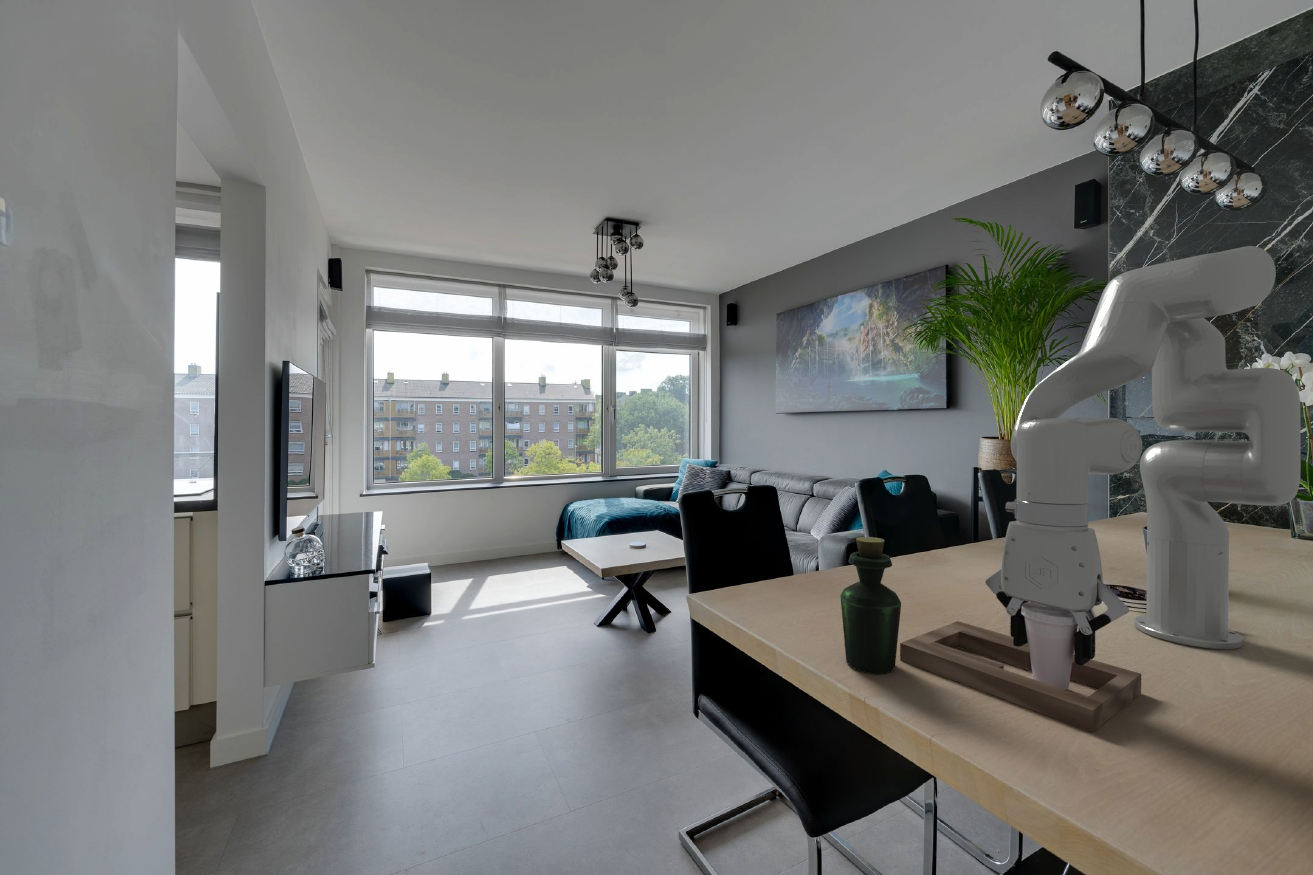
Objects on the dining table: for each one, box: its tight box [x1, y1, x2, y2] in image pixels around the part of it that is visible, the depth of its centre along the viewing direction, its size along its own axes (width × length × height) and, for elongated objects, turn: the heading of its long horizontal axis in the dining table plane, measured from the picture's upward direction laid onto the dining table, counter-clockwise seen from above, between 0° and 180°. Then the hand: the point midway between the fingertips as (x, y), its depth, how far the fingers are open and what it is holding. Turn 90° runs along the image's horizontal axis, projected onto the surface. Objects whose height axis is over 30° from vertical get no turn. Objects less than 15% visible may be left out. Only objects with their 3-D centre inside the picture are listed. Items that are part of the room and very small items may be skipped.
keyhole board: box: [899, 620, 1142, 733], centre depth 74 cm, size 16×23×2 cm
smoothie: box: [1021, 602, 1079, 690], centre depth 71 cm, size 6×6×14 cm
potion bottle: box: [840, 536, 902, 675], centre depth 78 cm, size 8×8×18 cm
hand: (1050, 651), depth 71 cm, fingers closed on smoothie, 6 cm apart
